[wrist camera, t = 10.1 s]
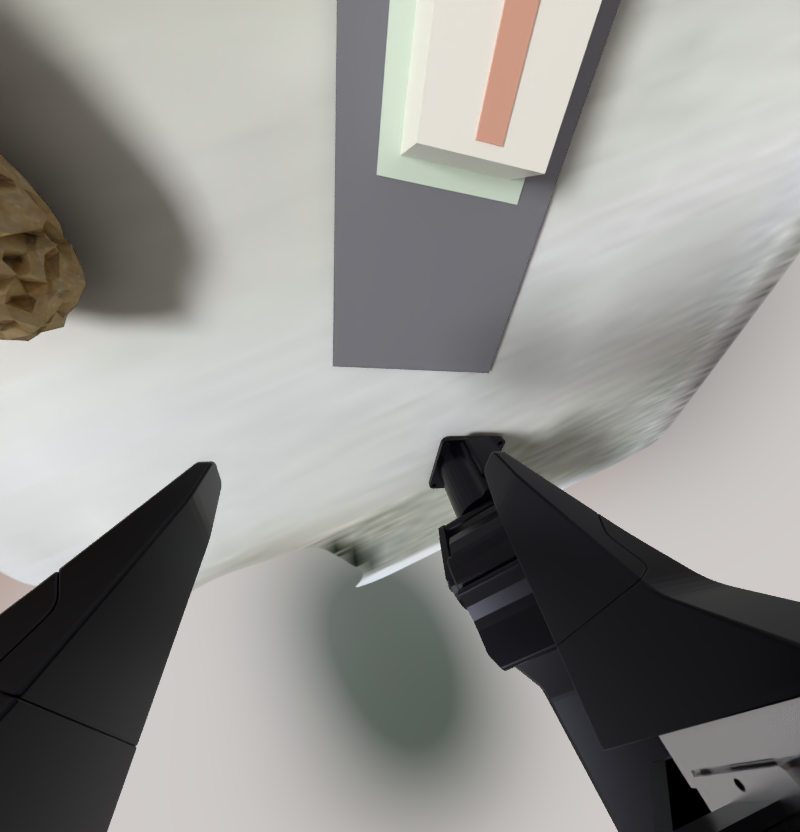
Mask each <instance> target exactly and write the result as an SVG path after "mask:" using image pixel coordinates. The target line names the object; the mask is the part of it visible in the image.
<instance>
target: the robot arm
mask: <svg viewBox="0 0 800 832" xmlns="http://www.w3.org/2000/svg"><path fill="white" fill-rule="evenodd" d="M447 442H448V443H447ZM445 443H447V444H445ZM504 444H505V440H504V439H503V438H502V437H450V438H444V439H442V441H441V443H440V446H439V450H438V453H437V457H436V460H435V463H434V467H433V470H432V474H431V477H430V480H429V486H430V488H433V489H434V488H445V490H446V492H447V495H448V497H449V499H450V502H451V504H452V507H453V509H454V511H455V514H456V516H457V519H455V520H454V521H452V522H450V523H449V524H447V525H443V526H441V527H440V528H438V529H439V536H440V545H441V551H442V557H443V563H444V570H445V576H446V580H447V582H448V586H449V589H450V590H451V592H453V593H454V594H455V596H456V598H457V599H458V601H459V602H460V603H461V605H462V606H463V607H464V608H465V609H466V610H468V611H469V613H470V615H471V617H472V619H473V621H474V623H475V625H476V627H477V629H478V632H479V634H480V637H481V639H482V641H483V643H484V646H485V648H486V651H487V653H488V655H489V656H490V657H491V658H492V659H493V660H494V661H495V662H496V663H497V665H499V667H500V668H501V669H503V670H505V671H506V670H509V669H511V668H513V667H516V668H517V669H518V670H520V671H521V672H522V673H523V674H525V675H526V676H527V677H529V678H530V679H531V680H532V681H533V682H535V683H536V684H537V685H539V686H540V687H541V689H542V690H543V692H544V693H545V695H546V697H547V699H548V700H549V702H550V704H551V706H552V708H553V710H554V712H555V713H556V715H557V717H558V719H559V721H560V723H561V725H562V727H563V729H564V730H565V732H566V734H567V736H568V738H569V740H570V741H571V744H572V746H573V747H574V749H575V751H576V753H577V755H578V756H579V759H580V761H581V762H582V764H583V766H584V768H585V770H586V772H587V774H588V776H589V777H590V779H591V781H592V783H593V785H594V787H595V789H596V791H597V792H598V794H599V796H600V798H601V800H602V802H603V804H604V806H605V807H606V809H607V811H608V813H609V815H610V817H611V819H612V821H613V823H614V824H615V826H616V828H617V830H618V832H800V602H797V601H793V600H788V599H784V598H780V597H776V596H771V595H767V594H762V593H758V592H753V591H750V590H745V589H741V588H736V587H732V586H728V585H725V584H722V583H718V582H716V581H713V580H710V579H708V578H706V577H704V576H702V575H700V574H698V573H696V572H694V571H692V570H691V569H689V568H687V567H685V566H684V565H682V564H680V563H679V562H677V561H675V560H673V559H672V558H670V557H668V556H667V555H665V554H663V553H661V552H659V551H658V550H656V549H655V548H653V547H651V546H649V545H648V544H646V543H644V542H643V541H641V540H639V539H638V538H636V537H634V536H633V535H631V534H629V533H628V532H626V531H624V530H623V529H621V528H620V527H618V526H617V525H615V524H613V523H612V522H610V521H609V520H607V519H606V518H604V517H603V516H601V515H600V514H597V513H596V512H595V511H593V510H592V509H590V508H589V507H587V506H586V505H584V504H583V503H581V502H580V501H578V500H577V499H575V498H574V497H572V496H570V495H569V494H567V493H566V492H564V491H563V490H561V489H560V488H558V487H557V486H555V485H554V484H552V483H551V482H549V481H547V480H546V479H544V478H543V477H541V476H540V475H538V474H537V473H535V472H534V471H532V470H531V469H529V468H528V467H526V466H525V465H523V464H521V463H520V462H518V461H517V460H515V459H514V458H512V457H511V456H509V455H508V454H506V453H505V452H501V450H502V448H503V446H504ZM220 491H221V479H220V476H219V473H218V469H217V466H216V464H215V463H214V462H212V461H209V462H197V463H196V464H194V465H193V466H192V467H190V468H189V469H188V470H186V471H185V472H184V473H183V474H181V475H180V476H179V477H177V478H176V479H175V480H174V481H172V482H171V483H170V484H168V485H167V486H166V487H164V488H163V489H162V490H161V491H159V492H158V493H157V494H155V495H154V496H153V497H152V498H150V499H149V500H148V501H146V502H145V503H144V504H143V505H141V506H140V507H139V508H137V509H136V510H135V511H134V512H132V513H131V514H130V515H128V516H127V517H126V518H125V519H123V520H122V521H121V522H119V523H118V524H117V525H115V526H114V527H113V528H112V529H110V530H109V531H108V532H106V533H105V534H104V535H103V536H101V537H100V538H99V539H97V540H96V541H95V542H94V543H92V544H91V545H90V546H88V547H87V548H86V549H85V550H83V551H82V552H81V553H79V554H78V555H77V556H76V557H74V558H73V559H72V560H70V561H69V562H68V563H66V564H65V565H64V566H63V567H61V568H60V569H59V572H55V573H53V574H52V575H51V576H50V577H48V578H47V579H46V580H44V581H43V582H42V583H40V584H39V585H38V586H37V587H35V588H34V589H33V590H31V591H30V592H29V593H27V594H26V595H25V596H23V597H22V598H21V599H19V600H18V601H17V602H15V603H14V604H13V605H12V606H10V607H9V608H7V609H6V610H5V611H4V612H2V613H1V614H0V832H107V830H108V827H109V825H110V821H111V819H112V816H113V813H114V810H115V808H116V804H117V801H118V799H119V796H120V793H121V790H122V788H123V785H124V782H125V779H126V776H127V773H128V770H129V767H130V765H131V762H132V759H133V756H134V753H135V751H136V745H137V744H138V742H139V738H140V736H141V733H142V730H143V727H144V724H145V722H146V719H147V716H148V713H149V710H150V707H151V704H152V702H153V699H154V696H155V693H156V690H157V687H158V685H159V682H160V679H161V676H162V673H163V670H164V668H165V665H166V662H167V659H168V656H169V653H170V650H171V648H172V645H173V642H174V639H175V636H176V634H177V631H178V628H179V625H180V622H181V619H182V616H183V614H184V611H185V608H186V605H187V602H188V599H189V597H190V594H191V591H192V588H193V585H194V582H195V580H196V577H197V574H198V571H199V568H200V565H201V562H202V560H203V557H204V554H205V551H206V548H207V545H208V542H209V539H210V535H211V531H212V527H213V522H214V518H215V513H216V509H217V504H218V500H219V495H220Z"/></svg>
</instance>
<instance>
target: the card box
mask: <svg viewBox="0 0 800 832" xmlns="http://www.w3.org/2000/svg"><path fill="white" fill-rule="evenodd" d="M601 2H602V0H417V2H416V12H415V21H414V31H413V41H412V50H411V60H410V69H409V79H408V89H407V98H406V108H405V117H404V127H403V136H402V146H401V155H402V156H406V157H411V158H415V159H420V160H424V161H428V162H433V163H437V164H441V165H446V166H450V167H455V168H459V169H463V170H468V171H472V172H476V173H481V174H485V175H490V176H494V177H498V178H503V179H507V180H511V179H517V178H523V177H529V176H535V175H542V174H545V172H546V169H547V166H548V163H549V160H550V157H551V154H552V151H553V148H554V145H555V141H556V138H557V135H558V132H559V129H560V126H561V123H562V120H563V117H564V114H565V111H566V108H567V105H568V102H569V99H570V96H571V93H572V90H573V87H574V84H575V81H576V78H577V75H578V72H579V68H580V65H581V62H582V59H583V56H584V53H585V50H586V47H587V44H588V41H589V38H590V35H591V32H592V29H593V26H594V23H595V20H596V17H597V14H598V11H599V8H600V5H601Z"/></svg>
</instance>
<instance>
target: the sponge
mask: <svg viewBox="0 0 800 832" xmlns="http://www.w3.org/2000/svg"><path fill="white" fill-rule="evenodd" d="M86 284H87V282H86V279H85V276H84V272H83V269H82V267H81V265H80V263H79V261H78V259H77V256H76V254H75V252H74V250H73V248H72V246H71V244H70V243H69V242H68V241H67V240H66V239H64V237H63V233H62V228H61V225H60V223H59V222H58V220H57V219H56V217H55V216H54V214H53V213H52V211H51V210H50V208H49V206H48V204H47V203H45V202H44V201H43V200H42V199H41V198H40V196H39V195H38V194H37V193H36V191H35V190H34V189H33V188H32V186H31V185H30V184H29V183H28V182H27V180H26V179H25V178H24V177H23V176H22V175H21V174H20V173H19V172H18V171H17V170H16V169H15V168H14V167H13V166H12V165H11V164H10V163H9V162H8V161H7V160H6V159H5V158H4V157H3V156H2V155H1V154H0V339H1V340H23V341H29V340H31V339H32V338H34V337H35V336H37V335H38V334H40V333H41V332H45V331H49V330H53V329H57V328H61V327H64V324H65V320H66V317H67V314H68V313H69V312H70V311H71V310H72V309H73V308H74V307H75V306H76V305H77V304H78V301H79V299H80V296H81V294H82V292H83V290H84V288H85V286H86Z"/></svg>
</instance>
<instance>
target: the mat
mask: <svg viewBox="0 0 800 832" xmlns="http://www.w3.org/2000/svg"><path fill="white" fill-rule="evenodd" d="M620 1H621V0H602V2H601V5H600V8H599V11H598V14H597V17H596V20H595V23H594V26H593V29H592V32H591V35H590V38H589V41H588V44H587V47H586V50H585V53H584V56H583V59H582V62H581V65H580V68H579V72H578V75H577V78H576V81H575V84H574V87H573V90H572V93H571V96H570V99H569V102H568V105H567V108H566V111H565V114H564V117H563V120H562V123H561V126H560V129H559V132H558V135H557V138H556V141H555V145H554V148H553V151H552V154H551V157H550V160H549V163H548V166H547V169H546V172H545V174H542V175H535V176H529V177H523V178H517V179H511V180H507V179H503V178H498V177H494V176H490V175H485V174H481V173H476V172H472V171H468V170H463V169H459V168H455V167H450V166H446V165H441V164H437V163H433V162H428V161H424V160H420V159H415V158H411V157H406V156H402V155H401V146H402V136H403V127H404V117H405V108H406V98H407V89H408V79H409V69H410V60H411V50H412V41H413V31H414V21H415V12H416V2H417V0H337V53H336V143H335V233H334V323H333V366H339V367H362V368H385V369H408V370H431V371H454V372H477V373H489V370H490V368H491V365H492V362H493V359H494V356H495V354H496V351H497V348H498V345H499V342H500V339H501V337H502V334H503V331H504V328H505V325H506V322H507V320H508V317H509V314H510V311H511V308H512V306H513V303H514V300H515V297H516V294H517V291H518V289H519V286H520V283H521V280H522V277H523V274H524V272H525V269H526V266H527V263H528V260H529V258H530V255H531V252H532V249H533V246H534V243H535V241H536V238H537V235H538V232H539V229H540V226H541V224H542V221H543V218H544V215H545V212H546V210H547V207H548V204H549V201H550V198H551V195H552V193H553V190H554V187H555V184H556V181H557V179H558V176H559V173H560V170H561V167H562V164H563V162H564V159H565V156H566V153H567V150H568V147H569V145H570V142H571V139H572V136H573V133H574V131H575V128H576V125H577V122H578V119H579V116H580V114H581V111H582V108H583V105H584V102H585V99H586V97H587V94H588V91H589V88H590V85H591V83H592V80H593V77H594V74H595V71H596V68H597V66H598V63H599V60H600V57H601V54H602V51H603V49H604V46H605V43H606V40H607V37H608V35H609V32H610V29H611V26H612V23H613V20H614V18H615V15H616V12H617V9H618V6H619V4H620Z"/></svg>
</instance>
